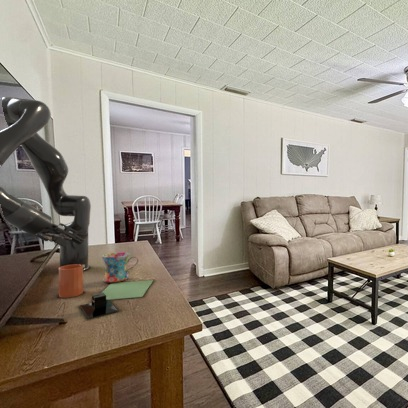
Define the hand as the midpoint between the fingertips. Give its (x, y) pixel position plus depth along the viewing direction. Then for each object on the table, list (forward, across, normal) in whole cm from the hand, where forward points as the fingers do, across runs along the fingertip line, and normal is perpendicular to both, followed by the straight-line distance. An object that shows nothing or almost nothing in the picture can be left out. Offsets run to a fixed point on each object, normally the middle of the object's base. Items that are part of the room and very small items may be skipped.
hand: (74, 243), depth 104 cm
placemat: (+17, -15, +11) cm, 25 cm away
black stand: (+7, -22, +22) cm, 32 cm away
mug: (+21, -4, +6) cm, 22 cm away
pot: (+8, -2, +16) cm, 18 cm away
